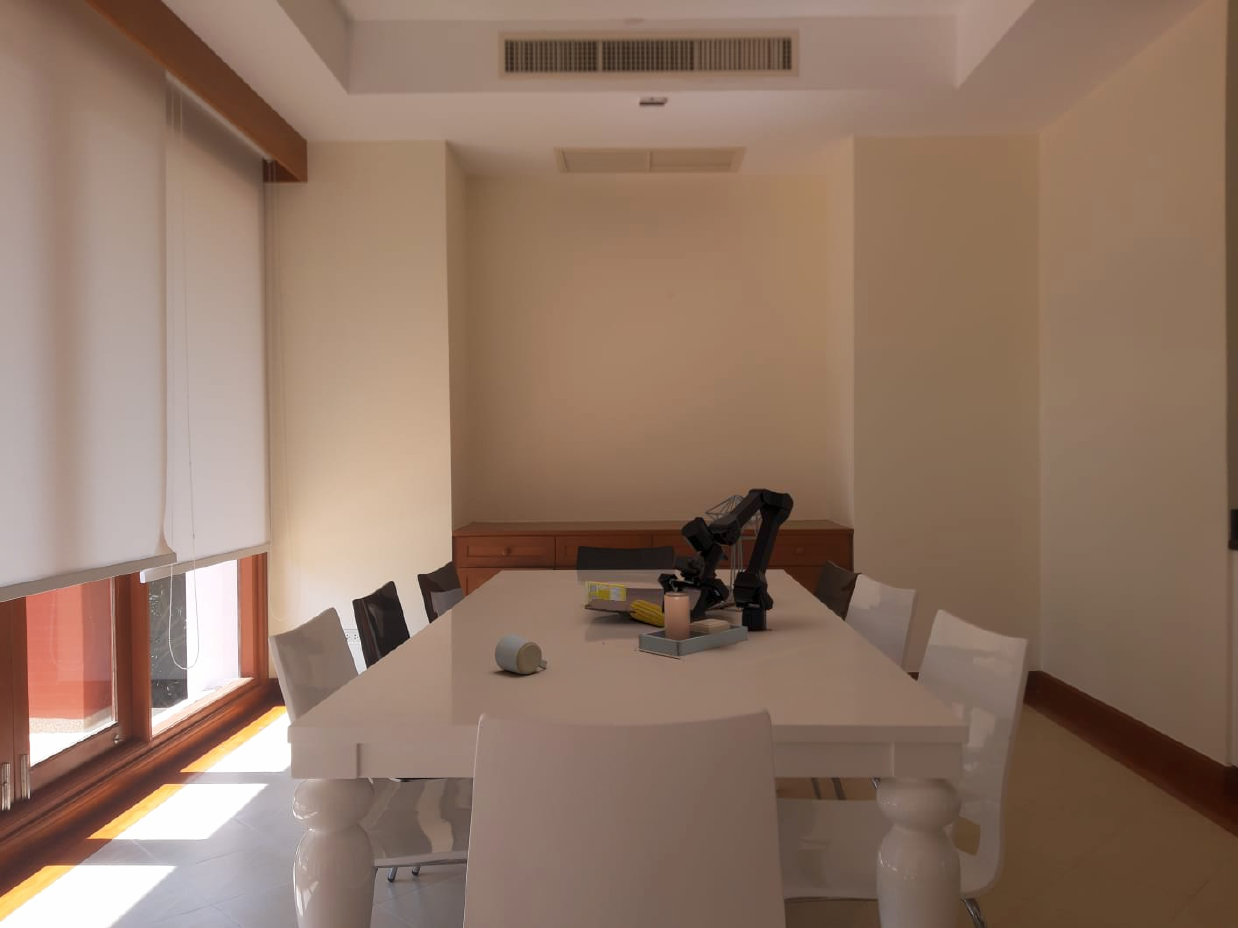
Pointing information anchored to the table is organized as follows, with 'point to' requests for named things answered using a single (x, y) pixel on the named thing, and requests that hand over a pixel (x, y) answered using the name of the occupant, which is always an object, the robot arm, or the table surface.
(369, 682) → the table surface
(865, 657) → the table surface
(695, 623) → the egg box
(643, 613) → the food
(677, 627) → the pink beverage can
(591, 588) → the candy box
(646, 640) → the tray
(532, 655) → the ceramic mug
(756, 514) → the geometric lantern
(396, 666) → the table surface
